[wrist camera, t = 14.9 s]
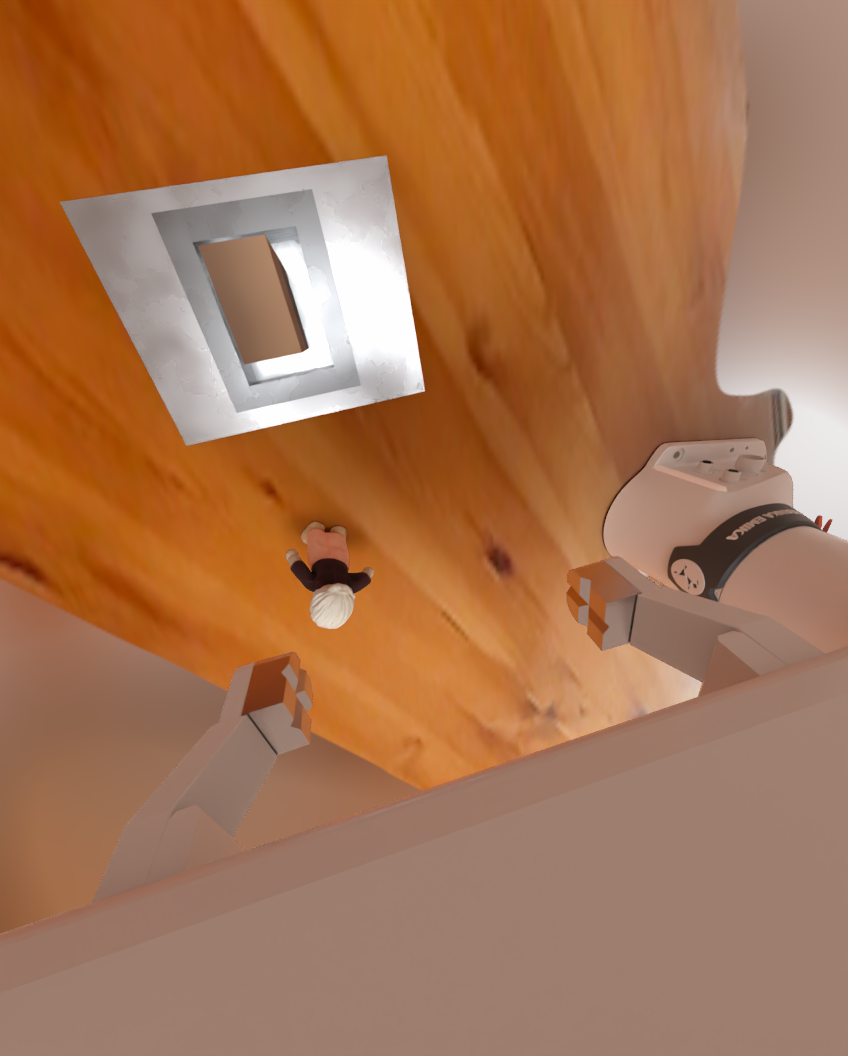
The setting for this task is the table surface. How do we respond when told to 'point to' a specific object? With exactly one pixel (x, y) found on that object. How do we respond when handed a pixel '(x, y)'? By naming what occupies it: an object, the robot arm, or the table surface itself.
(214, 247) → the walnut wedge
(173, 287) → the grey socket base
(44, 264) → the table surface
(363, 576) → the grandmother figurine
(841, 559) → the robot arm
